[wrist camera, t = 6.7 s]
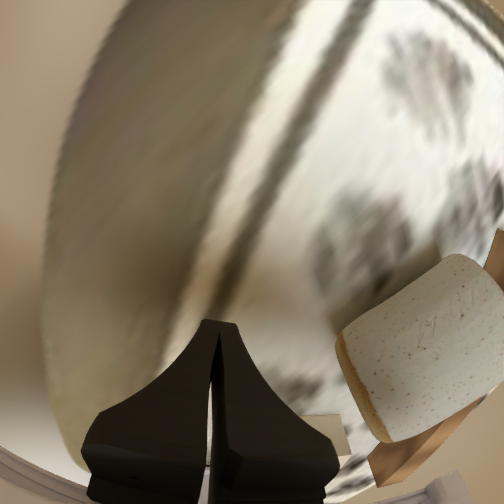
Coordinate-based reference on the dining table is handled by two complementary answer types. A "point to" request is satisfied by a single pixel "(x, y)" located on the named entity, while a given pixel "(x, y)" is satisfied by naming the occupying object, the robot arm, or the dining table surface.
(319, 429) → the beige rectangular block
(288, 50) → the dining table surface
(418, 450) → the walnut rail
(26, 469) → the robot arm
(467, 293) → the ceramic mug
